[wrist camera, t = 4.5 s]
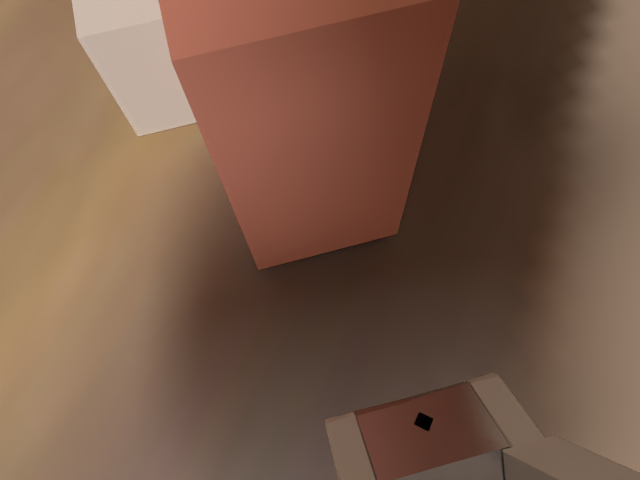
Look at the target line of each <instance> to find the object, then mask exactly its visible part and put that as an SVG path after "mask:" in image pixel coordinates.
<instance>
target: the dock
mask: <svg viewBox="0 0 640 480" xmlns="http://www.w3.org/2000/svg"><path fill="white" fill-rule="evenodd" d="M72 5H73V12H74V19H75V26H76V33H77V39H78V40H79V42H80V43H81V45H82V47H83V48H84V50H85V52H86V53H87V55H88V56H89V58H90V60H91V61H92V63H93V65H94V66H95V68H96V69H97V71H98V73H99V74H100V76H101V77H102V79H103V81H104V82H105V84H106V86H107V87H108V89H109V90H110V92H111V94H112V95H113V97H114V98H115V100H116V102H117V103H118V105H119V107H120V108H121V110H122V111H123V113H124V115H125V116H126V118H127V119H128V121H129V123H130V124H131V126H132V128H133V129H134V131H135V132H136V134H137V136H142V135H147V134H151V133H155V132H159V131H163V130H167V129H171V128H176V127H180V126H184V125H188V124H192V123H196V119H195V117H194V115H193V112H192V110H191V107H190V105H189V103H188V100H187V98H186V95H185V93H184V91H183V88H182V86H181V84H180V81H179V79H178V76H177V74H176V72H175V69H174V67H173V64H172V62H171V58H170V53H169V48H168V44H167V39H166V34H165V29H164V25H163V20H162V15H161V10H160V6H159V1H158V0H72Z"/></svg>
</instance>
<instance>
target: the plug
mask: <svg viewBox="0 0 640 480" xmlns="http://www.w3.org/2000/svg"><path fill="white" fill-rule="evenodd" d="M158 1H159V6H160V10H161V15H162V20H163V25H164V29H165V34H166V39H167V44H168V48H169V53H170V58H171V62H172V64H173V67H174V69H175V72H176V74H177V76H178V79H179V81H180V84H181V86H182V88H183V91H184V93H185V95H186V98H187V100H188V103H189V105H190V107H191V110H192V112H193V115H194V117H195V119H196V122H197V124H198V127H199V129H200V131H201V134H202V136H203V139H204V141H205V143H206V146H207V148H208V151H209V153H210V155H211V158H212V160H213V162H214V165H215V167H216V170H217V172H218V174H219V177H220V179H221V182H222V184H223V186H224V189H225V191H226V194H227V196H228V198H229V201H230V203H231V206H232V208H233V210H234V213H235V215H236V218H237V220H238V222H239V225H240V227H241V230H242V232H243V234H244V237H245V239H246V241H247V244H248V246H249V249H250V251H251V253H252V256H253V258H254V261H255V263H256V265H257V268H258V270H261V269H265V268H269V267H273V266H276V265H280V264H284V263H288V262H292V261H296V260H299V259H303V258H307V257H311V256H315V255H319V254H322V253H326V252H330V251H334V250H338V249H342V248H345V247H349V246H353V245H357V244H361V243H365V242H368V241H372V240H376V239H380V238H384V237H388V236H391V235H395V234H397V233H398V229H399V225H400V222H401V218H402V214H403V211H404V207H405V203H406V199H407V196H408V192H409V188H410V185H411V181H412V177H413V174H414V170H415V166H416V162H417V159H418V155H419V151H420V148H421V144H422V140H423V137H424V133H425V129H426V125H427V122H428V118H429V114H430V111H431V107H432V103H433V100H434V96H435V92H436V88H437V85H438V81H439V77H440V74H441V70H442V66H443V62H444V59H445V55H446V51H447V48H448V44H449V40H450V37H451V33H452V29H453V25H454V22H455V18H456V14H457V11H458V7H459V3H460V0H158Z"/></svg>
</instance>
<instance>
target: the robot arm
mask: <svg viewBox="0 0 640 480" xmlns="http://www.w3.org/2000/svg"><path fill="white" fill-rule="evenodd" d="M325 427H326V431H327V435H328V440H329V444H330V448H331V452H332V456H333V460H334V464H335V468H336V472H337V476H338V480H640V473H639V472H636V471H634V470H632V469H630V468H627V467H625V466H623V465H620V464H618V463H615V462H613V461H611V460H609V459H607V458H604V457H602V456H600V455H598V454H596V453H593V452H591V451H589V450H587V449H584V448H582V447H580V446H578V445H575V444H573V443H571V442H569V441H566V440H564V439H562V438H560V437H557V436H555V435H554V436H550V437H547V438H546V437H545V436H544V435H543V433H542V432H541V431H540V429H539V428H538V427H537V425H536V424H535V423H534V421H533V420H532V419H531V417H530V416H529V415H528V413H527V412H526V411H525V409H524V408H523V407H522V405H521V404H520V403H519V401H518V400H517V399H516V397H515V396H514V395H513V393H512V392H511V391H510V389H509V388H508V387H507V385H506V384H505V383H504V381H503V380H502V379H501V377H500V376H499V375H498V374H496V373H494V372H493V373H490V374H486V375H483V376H480V377H476V378H473V379H470V380H466V382H461V383H458V384H454V385H451V386H447V387H444V388H440V389H437V390H433V391H430V392H426V393H423V394H419V395H416V396H412V397H409V398H405V399H401V400H397V401H393V402H389V403H385V404H381V405H377V406H373V407H369V408H365V409H361V410H357V411H354V413H353V412H352V413H348V414H344V415H340V416H336V417H332V418H328V419H325Z"/></svg>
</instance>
